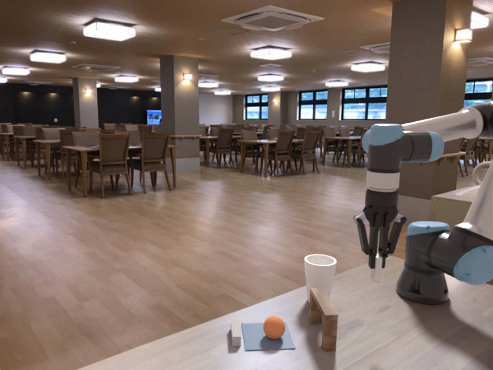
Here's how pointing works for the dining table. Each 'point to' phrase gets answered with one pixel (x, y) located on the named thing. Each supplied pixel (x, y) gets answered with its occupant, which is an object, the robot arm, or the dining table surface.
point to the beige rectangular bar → (235, 333)
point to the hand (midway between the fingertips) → (375, 280)
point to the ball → (274, 327)
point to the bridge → (324, 318)
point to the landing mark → (265, 338)
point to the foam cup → (319, 273)
